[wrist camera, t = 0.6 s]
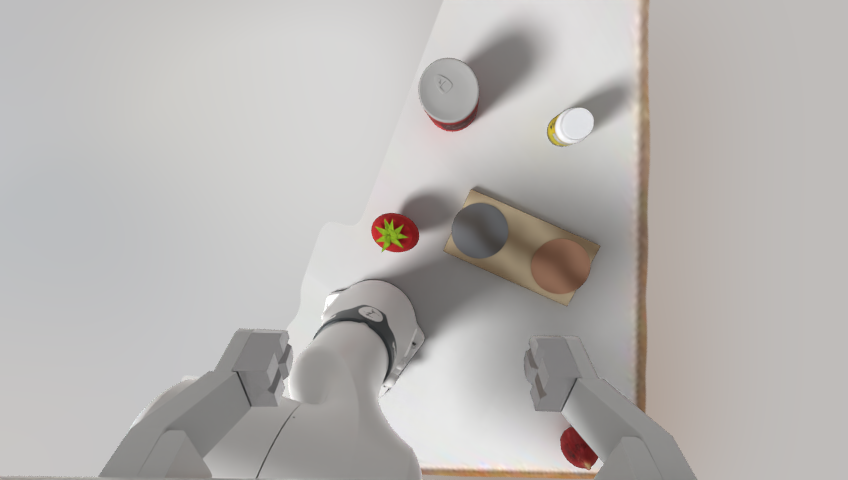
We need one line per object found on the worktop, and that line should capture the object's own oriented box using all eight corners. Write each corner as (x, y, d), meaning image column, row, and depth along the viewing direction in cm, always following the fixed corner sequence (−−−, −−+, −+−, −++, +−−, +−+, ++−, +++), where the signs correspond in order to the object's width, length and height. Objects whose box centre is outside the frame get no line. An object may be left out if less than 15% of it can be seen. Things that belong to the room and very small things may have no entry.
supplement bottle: (562, 107, 54) (579, 95, 46) (585, 129, 54) (606, 121, 46) (539, 132, 55) (551, 125, 47) (561, 153, 55) (577, 149, 47)
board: (567, 304, 59) (570, 308, 58) (441, 248, 60) (440, 250, 59) (600, 245, 57) (604, 247, 55) (468, 187, 58) (468, 188, 56)
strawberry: (418, 250, 61) (408, 265, 51) (376, 237, 61) (358, 249, 51) (427, 217, 59) (419, 225, 50) (384, 204, 60) (368, 210, 50)
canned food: (442, 70, 55) (435, 45, 44) (487, 96, 55) (491, 77, 44) (418, 116, 57) (406, 103, 46) (462, 141, 57) (460, 133, 46)
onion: (550, 438, 64) (562, 474, 56) (563, 411, 63) (577, 445, 55) (582, 450, 64) (598, 488, 56) (595, 423, 62) (613, 459, 55)
